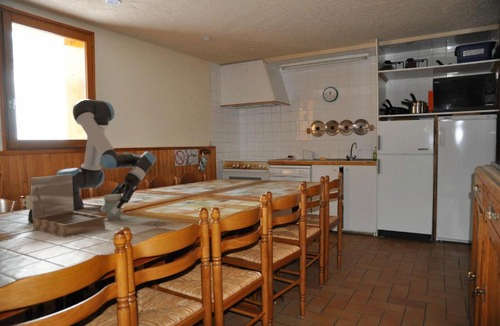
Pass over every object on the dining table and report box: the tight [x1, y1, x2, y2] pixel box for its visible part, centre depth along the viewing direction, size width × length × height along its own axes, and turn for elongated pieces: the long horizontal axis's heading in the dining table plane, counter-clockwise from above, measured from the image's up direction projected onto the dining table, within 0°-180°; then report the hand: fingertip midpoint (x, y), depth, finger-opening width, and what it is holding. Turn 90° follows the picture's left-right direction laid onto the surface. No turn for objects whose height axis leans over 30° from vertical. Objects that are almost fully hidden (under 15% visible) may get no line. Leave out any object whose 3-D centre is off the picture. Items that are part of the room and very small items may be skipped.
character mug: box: [22, 194, 33, 223], centre depth 165 cm, size 11×7×13 cm, turn 100°
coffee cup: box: [103, 193, 122, 221], centre depth 168 cm, size 9×8×12 cm
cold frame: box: [29, 174, 106, 238], centre depth 150 cm, size 26×18×23 cm
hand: (107, 212), depth 166 cm, fingers closed on coffee cup, 8 cm apart
